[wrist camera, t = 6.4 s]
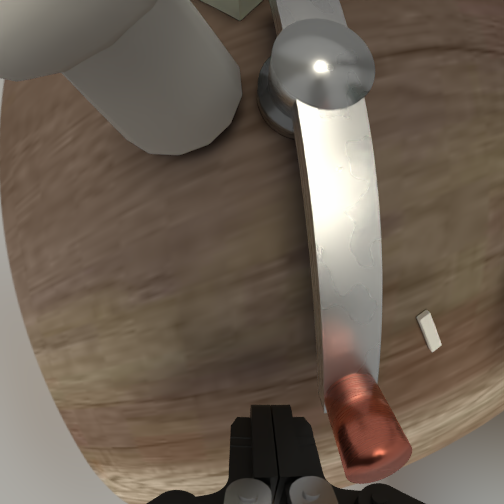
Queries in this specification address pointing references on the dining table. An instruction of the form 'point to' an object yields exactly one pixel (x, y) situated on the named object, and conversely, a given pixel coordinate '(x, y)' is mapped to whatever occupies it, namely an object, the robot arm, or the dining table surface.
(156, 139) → the salt shaker
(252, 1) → the tray
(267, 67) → the crank base
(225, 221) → the dining table surface
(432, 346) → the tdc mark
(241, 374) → the dining table surface
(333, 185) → the crank
